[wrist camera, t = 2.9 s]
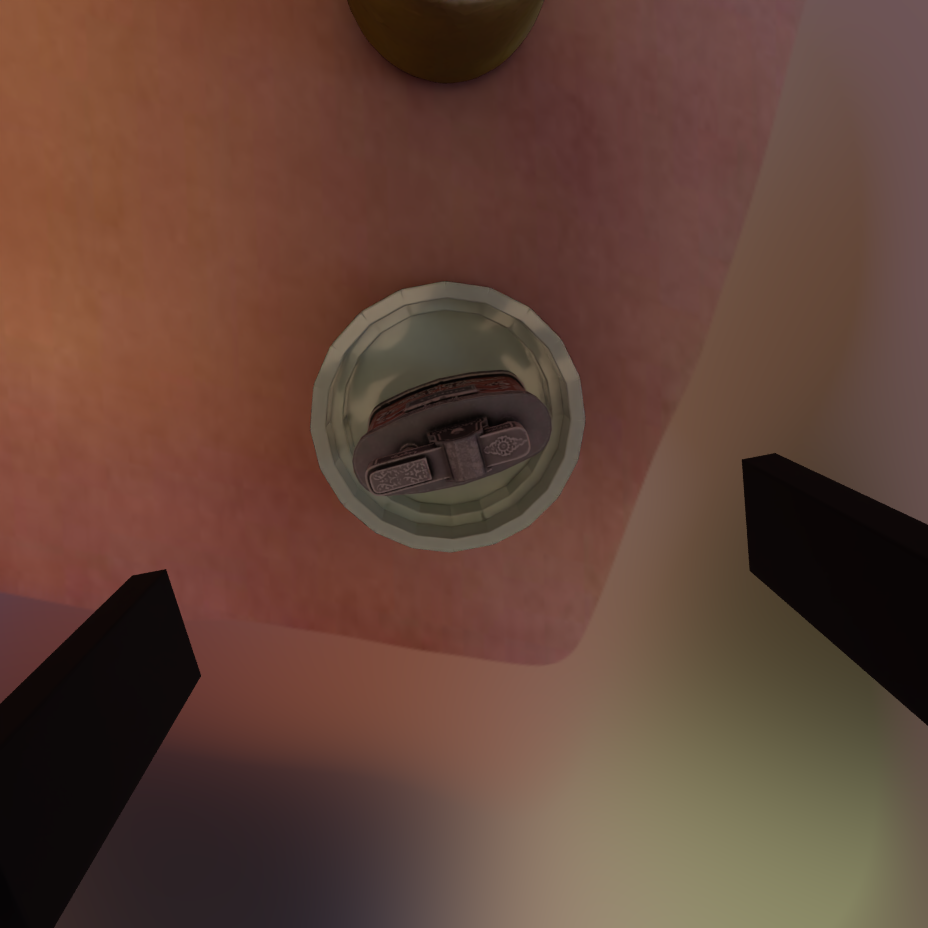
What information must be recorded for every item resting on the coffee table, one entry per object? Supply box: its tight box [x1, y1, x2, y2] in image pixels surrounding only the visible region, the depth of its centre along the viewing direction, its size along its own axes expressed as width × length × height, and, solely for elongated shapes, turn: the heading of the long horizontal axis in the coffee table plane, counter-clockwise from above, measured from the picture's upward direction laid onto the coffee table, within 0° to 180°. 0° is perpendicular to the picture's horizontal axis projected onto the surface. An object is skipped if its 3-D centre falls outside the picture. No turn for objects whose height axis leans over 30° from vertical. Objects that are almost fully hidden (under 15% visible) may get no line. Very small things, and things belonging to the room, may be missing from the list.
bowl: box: [310, 281, 585, 552], centre depth 32 cm, size 12×12×4 cm
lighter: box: [352, 370, 552, 496], centre depth 28 cm, size 8×3×10 cm, turn 105°
